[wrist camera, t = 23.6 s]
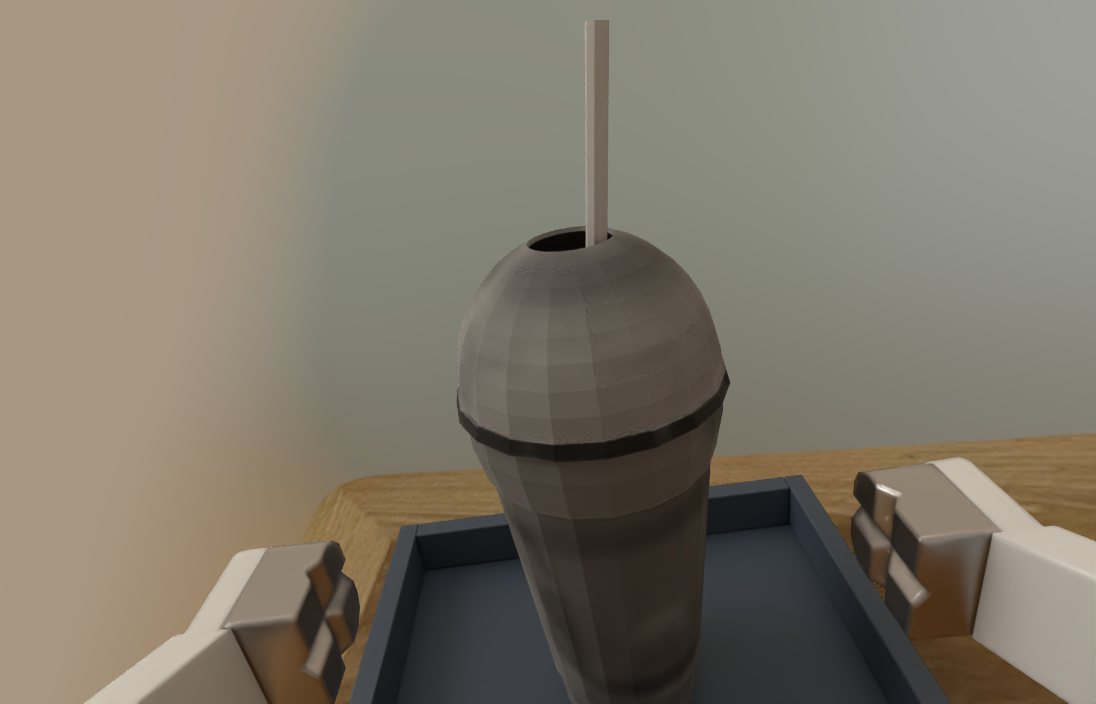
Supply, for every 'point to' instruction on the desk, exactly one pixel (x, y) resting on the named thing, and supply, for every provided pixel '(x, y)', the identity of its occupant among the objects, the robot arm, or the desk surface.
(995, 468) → the desk surface
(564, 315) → the beverage cup
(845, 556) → the tray
